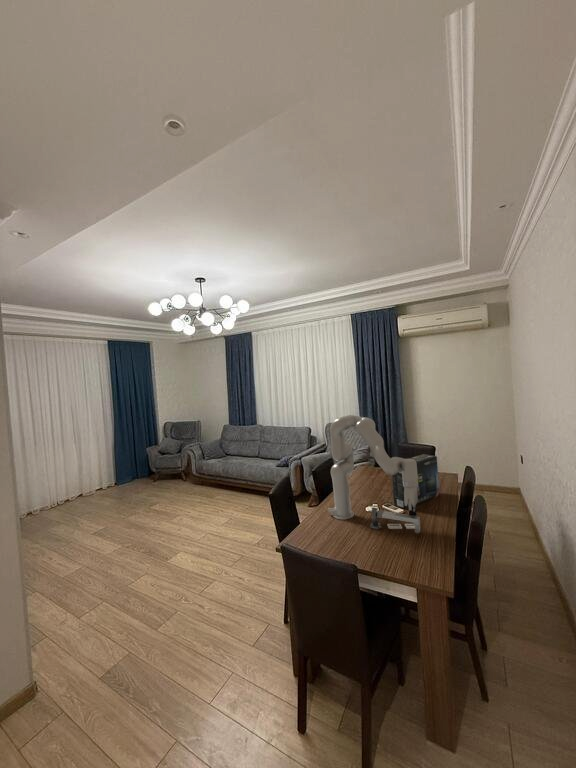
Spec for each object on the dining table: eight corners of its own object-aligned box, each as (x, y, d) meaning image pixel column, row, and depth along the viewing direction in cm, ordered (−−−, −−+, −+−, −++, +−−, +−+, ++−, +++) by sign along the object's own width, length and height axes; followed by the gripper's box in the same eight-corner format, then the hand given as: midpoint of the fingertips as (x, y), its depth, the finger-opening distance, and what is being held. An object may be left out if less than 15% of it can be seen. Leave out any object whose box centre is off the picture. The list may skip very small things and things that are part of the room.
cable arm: (378, 526, 163) (377, 512, 163) (380, 523, 166) (379, 509, 166) (419, 533, 152) (418, 519, 152) (420, 529, 156) (419, 515, 156)
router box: (408, 510, 183) (404, 466, 183) (392, 505, 192) (389, 463, 193) (441, 495, 203) (437, 455, 203) (425, 491, 212) (422, 453, 212)
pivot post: (370, 529, 163) (369, 510, 163) (369, 524, 169) (368, 506, 169) (382, 529, 162) (380, 510, 162) (380, 524, 168) (379, 506, 168)
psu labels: (388, 528, 162) (388, 527, 162) (387, 524, 167) (387, 523, 167) (420, 528, 160) (420, 527, 160) (417, 524, 165) (417, 523, 165)
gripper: (406, 478, 168) (408, 511, 168) (399, 486, 155) (402, 522, 155) (420, 479, 164) (423, 513, 163) (415, 488, 151) (418, 525, 151)
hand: (413, 518), depth 159 cm, fingers closed
